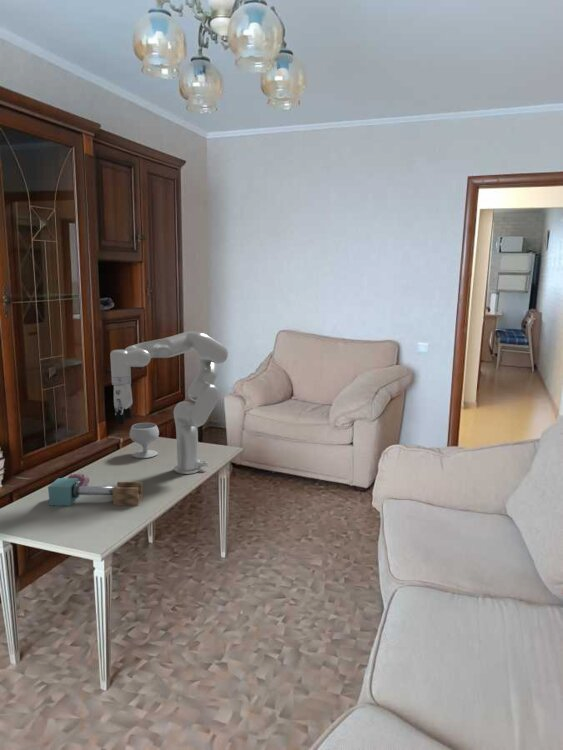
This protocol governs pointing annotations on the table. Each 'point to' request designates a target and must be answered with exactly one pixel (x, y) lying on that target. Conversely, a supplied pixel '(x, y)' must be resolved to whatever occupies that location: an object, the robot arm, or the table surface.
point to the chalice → (144, 438)
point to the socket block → (62, 491)
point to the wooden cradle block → (127, 493)
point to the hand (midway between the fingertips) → (123, 421)
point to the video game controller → (80, 479)
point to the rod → (91, 490)
